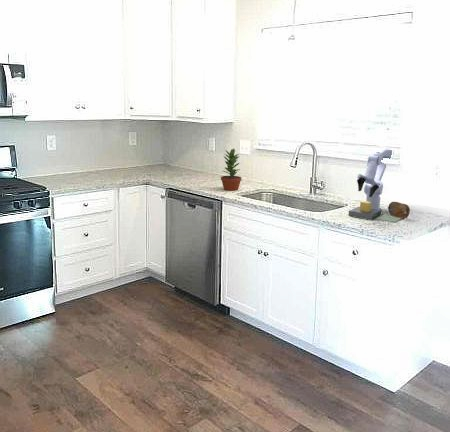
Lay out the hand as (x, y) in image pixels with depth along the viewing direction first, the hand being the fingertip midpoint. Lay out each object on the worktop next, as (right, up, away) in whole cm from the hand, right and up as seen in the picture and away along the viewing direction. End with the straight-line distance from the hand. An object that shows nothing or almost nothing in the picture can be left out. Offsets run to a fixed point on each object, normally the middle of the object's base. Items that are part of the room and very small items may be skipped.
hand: (365, 193), depth 294 cm
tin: (+20, -14, +2) cm, 24 cm away
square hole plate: (+1, -13, +3) cm, 13 cm away
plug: (+1, -13, +3) cm, 13 cm away
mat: (+12, -14, -4) cm, 19 cm away
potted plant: (-76, +6, +72) cm, 105 cm away
